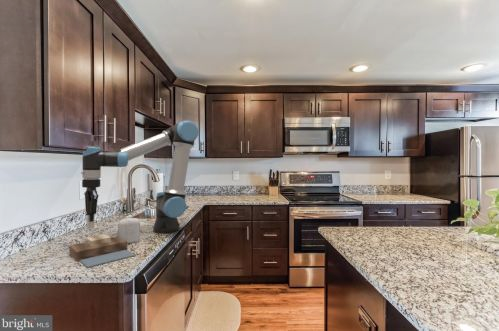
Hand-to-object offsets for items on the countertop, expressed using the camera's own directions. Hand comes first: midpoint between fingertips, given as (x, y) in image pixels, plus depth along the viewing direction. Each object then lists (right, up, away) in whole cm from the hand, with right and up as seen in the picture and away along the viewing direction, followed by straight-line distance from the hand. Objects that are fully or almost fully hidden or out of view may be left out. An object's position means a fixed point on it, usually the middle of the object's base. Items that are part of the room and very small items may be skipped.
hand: (90, 228), depth 126 cm
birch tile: (+8, -5, -7) cm, 11 cm away
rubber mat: (+17, -9, -15) cm, 24 cm away
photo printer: (+15, -9, +7) cm, 19 cm away
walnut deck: (+8, -9, -7) cm, 14 cm away
